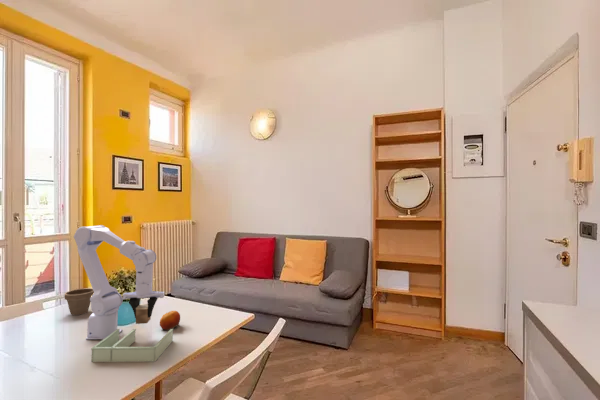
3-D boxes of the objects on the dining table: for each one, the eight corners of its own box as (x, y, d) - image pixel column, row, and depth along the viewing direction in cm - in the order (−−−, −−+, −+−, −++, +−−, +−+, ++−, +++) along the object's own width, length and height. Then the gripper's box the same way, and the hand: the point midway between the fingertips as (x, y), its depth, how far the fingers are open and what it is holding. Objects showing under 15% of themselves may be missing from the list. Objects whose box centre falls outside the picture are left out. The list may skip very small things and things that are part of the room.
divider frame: (90, 362, 96) (91, 348, 96) (116, 341, 110) (117, 329, 110) (155, 361, 97) (155, 348, 97) (172, 340, 111) (173, 329, 111)
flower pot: (74, 308, 143) (75, 287, 143) (99, 308, 144) (99, 287, 144) (57, 317, 131) (58, 295, 132) (84, 317, 133) (85, 294, 133)
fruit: (176, 329, 118) (168, 311, 119) (161, 337, 119) (153, 320, 120) (188, 321, 126) (180, 305, 127) (174, 329, 127) (166, 313, 128)
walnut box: (135, 323, 110) (135, 307, 111) (139, 319, 115) (140, 304, 115) (147, 323, 111) (147, 307, 111) (150, 319, 115) (151, 303, 115)
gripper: (119, 285, 108) (118, 321, 108) (161, 284, 110) (160, 319, 110) (127, 280, 115) (126, 314, 115) (166, 279, 117) (165, 313, 117)
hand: (143, 316), depth 113 cm, fingers closed on walnut box, 4 cm apart
